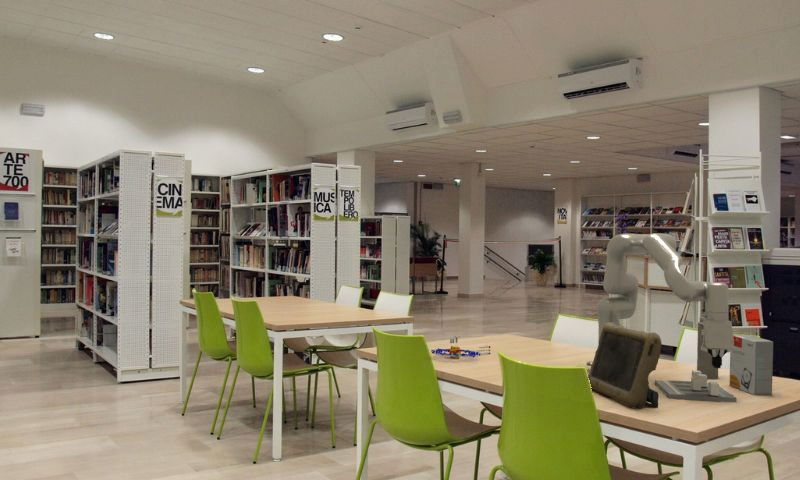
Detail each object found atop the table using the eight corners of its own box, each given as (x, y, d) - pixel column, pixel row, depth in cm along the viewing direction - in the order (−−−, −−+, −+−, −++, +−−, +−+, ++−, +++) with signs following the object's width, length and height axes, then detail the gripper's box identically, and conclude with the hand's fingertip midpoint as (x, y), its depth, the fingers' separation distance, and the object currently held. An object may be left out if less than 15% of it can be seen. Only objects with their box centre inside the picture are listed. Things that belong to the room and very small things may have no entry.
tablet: (579, 388, 244) (580, 321, 244) (611, 386, 248) (612, 320, 248) (633, 410, 213) (634, 333, 213) (668, 408, 217) (670, 333, 217)
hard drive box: (728, 385, 254) (729, 334, 254) (747, 385, 254) (748, 334, 254) (753, 395, 238) (754, 340, 238) (773, 395, 239) (774, 340, 239)
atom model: (472, 352, 325) (473, 331, 325) (509, 360, 304) (510, 337, 304) (416, 355, 304) (417, 333, 305) (452, 364, 283) (453, 339, 284)
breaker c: (699, 386, 242) (699, 375, 242) (697, 384, 245) (697, 373, 245) (706, 386, 241) (707, 376, 241) (704, 385, 244) (704, 374, 244)
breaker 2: (711, 395, 228) (711, 383, 228) (708, 393, 231) (708, 381, 231) (719, 395, 228) (719, 384, 228) (716, 393, 231) (716, 382, 231)
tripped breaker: (693, 390, 235) (693, 378, 236) (690, 388, 239) (691, 376, 239) (701, 390, 235) (701, 378, 235) (698, 388, 238) (698, 376, 238)
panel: (669, 398, 230) (670, 394, 230) (654, 383, 254) (654, 379, 254) (736, 402, 226) (736, 397, 226) (714, 386, 251) (714, 382, 251)
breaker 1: (694, 382, 249) (694, 371, 249) (691, 380, 252) (692, 370, 252) (701, 382, 248) (701, 372, 248) (699, 381, 251) (699, 370, 251)
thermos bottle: (715, 375, 273) (716, 308, 273) (720, 379, 265) (721, 310, 265) (694, 374, 274) (696, 308, 274) (699, 378, 266) (700, 309, 266)
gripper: (697, 317, 233) (697, 368, 233) (742, 318, 231) (742, 370, 230) (692, 315, 241) (692, 365, 240) (735, 316, 238) (735, 366, 238)
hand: (716, 367), depth 235 cm, fingers closed
